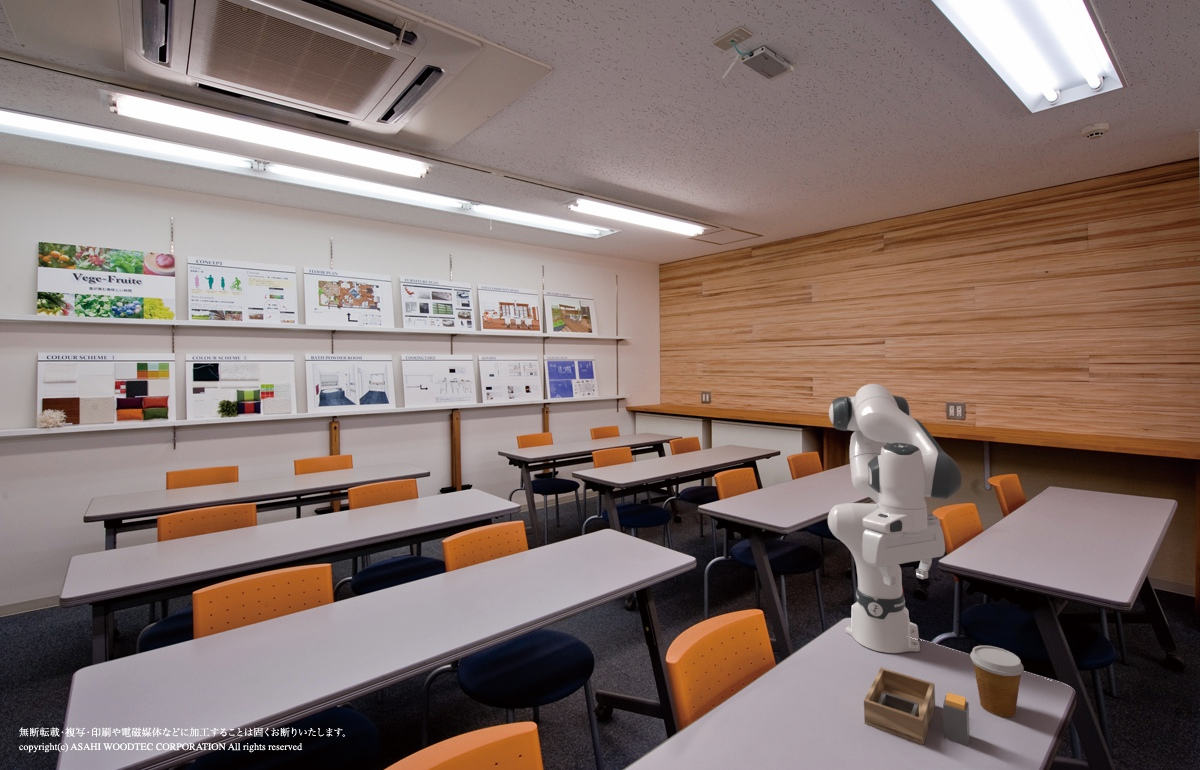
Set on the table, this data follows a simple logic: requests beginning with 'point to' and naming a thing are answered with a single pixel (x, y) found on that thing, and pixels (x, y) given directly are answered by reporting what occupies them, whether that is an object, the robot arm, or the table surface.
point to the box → (900, 705)
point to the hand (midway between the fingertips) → (906, 581)
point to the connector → (956, 718)
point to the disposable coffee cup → (997, 679)
